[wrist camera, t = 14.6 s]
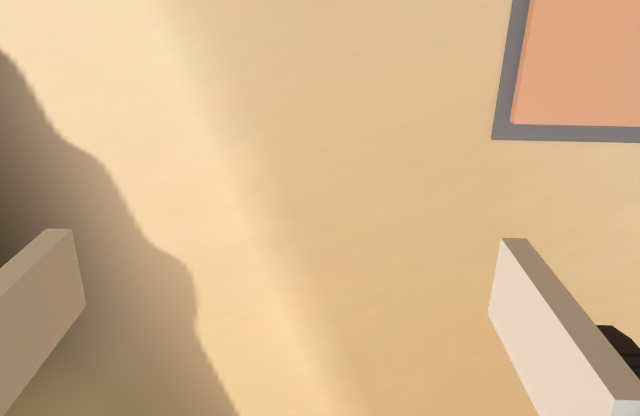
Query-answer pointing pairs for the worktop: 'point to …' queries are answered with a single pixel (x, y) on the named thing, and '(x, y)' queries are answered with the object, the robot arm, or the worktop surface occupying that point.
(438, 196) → the worktop surface
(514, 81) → the mat
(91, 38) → the worktop surface
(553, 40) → the lid
